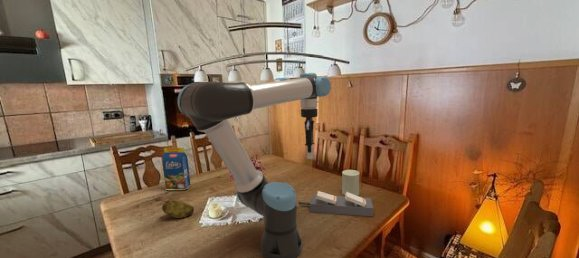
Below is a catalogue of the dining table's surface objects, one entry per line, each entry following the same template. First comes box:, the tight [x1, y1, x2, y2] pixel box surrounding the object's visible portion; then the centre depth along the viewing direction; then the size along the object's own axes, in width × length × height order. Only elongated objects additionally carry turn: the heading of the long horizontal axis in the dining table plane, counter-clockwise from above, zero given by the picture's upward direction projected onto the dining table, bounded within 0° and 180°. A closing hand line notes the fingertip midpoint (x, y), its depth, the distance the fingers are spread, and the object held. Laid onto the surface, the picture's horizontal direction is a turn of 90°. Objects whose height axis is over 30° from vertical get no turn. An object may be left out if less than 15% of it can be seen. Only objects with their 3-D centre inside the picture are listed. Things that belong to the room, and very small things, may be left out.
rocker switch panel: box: [298, 194, 374, 217], centre depth 118 cm, size 34×10×5 cm, turn 79°
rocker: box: [316, 190, 338, 204], centre depth 116 cm, size 9×5×2 cm, turn 79°
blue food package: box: [161, 147, 191, 190], centre depth 145 cm, size 6×12×25 cm, turn 86°
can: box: [341, 169, 360, 196], centre depth 134 cm, size 9×9×12 cm
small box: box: [344, 192, 366, 207], centre depth 113 cm, size 9×5×2 cm, turn 79°
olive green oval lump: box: [161, 199, 195, 219], centre depth 115 cm, size 8×13×8 cm, turn 80°
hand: (309, 158), depth 116 cm, fingers closed
